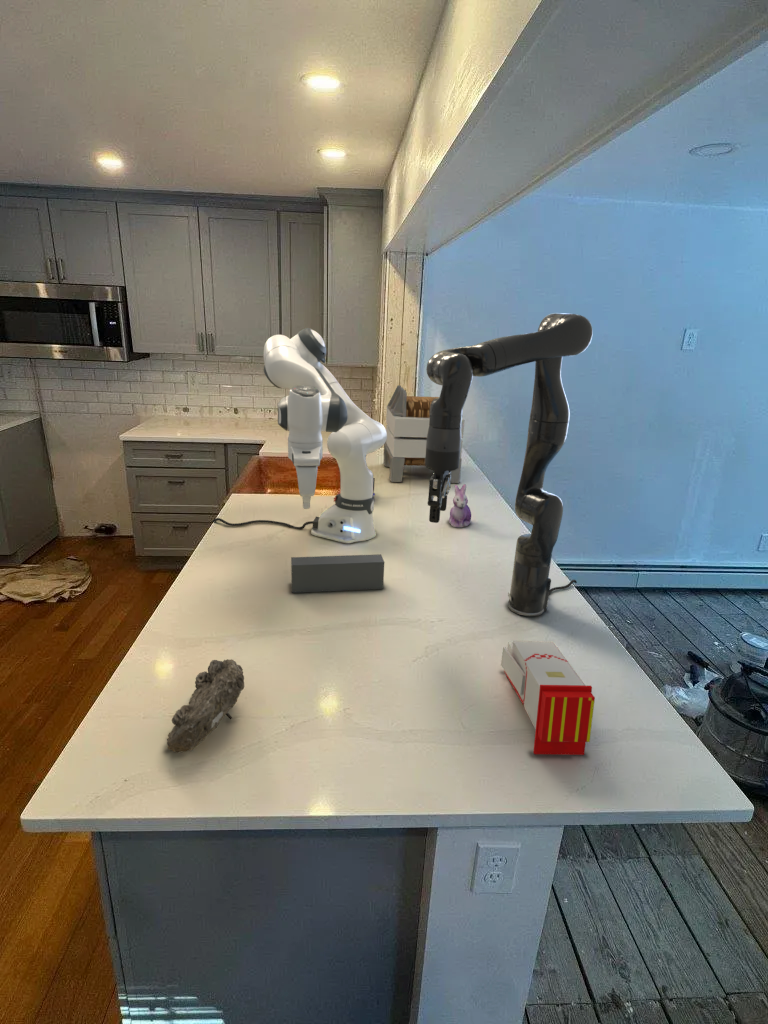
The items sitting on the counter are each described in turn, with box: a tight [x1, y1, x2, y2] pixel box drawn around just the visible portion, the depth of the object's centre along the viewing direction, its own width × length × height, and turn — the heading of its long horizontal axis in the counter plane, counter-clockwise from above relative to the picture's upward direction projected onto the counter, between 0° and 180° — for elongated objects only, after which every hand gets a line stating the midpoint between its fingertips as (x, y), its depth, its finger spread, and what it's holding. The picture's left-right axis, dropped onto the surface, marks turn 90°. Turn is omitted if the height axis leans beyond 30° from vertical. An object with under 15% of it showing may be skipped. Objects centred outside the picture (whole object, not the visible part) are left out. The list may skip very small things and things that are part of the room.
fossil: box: [166, 658, 245, 754], centre depth 106 cm, size 22×10×15 cm
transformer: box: [383, 384, 465, 484], centre depth 268 cm, size 34×33×41 cm
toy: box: [500, 640, 596, 756], centre depth 114 cm, size 12×13×30 cm
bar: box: [290, 553, 385, 594], centre depth 159 cm, size 26×5×8 cm, turn 100°
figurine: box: [448, 483, 472, 528], centre depth 209 cm, size 9×10×15 cm
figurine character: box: [373, 477, 376, 497], centre depth 233 cm, size 7×8×15 cm
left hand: (305, 502), depth 150 cm, fingers open, 8 cm apart
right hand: (437, 515), depth 130 cm, fingers open, 8 cm apart
